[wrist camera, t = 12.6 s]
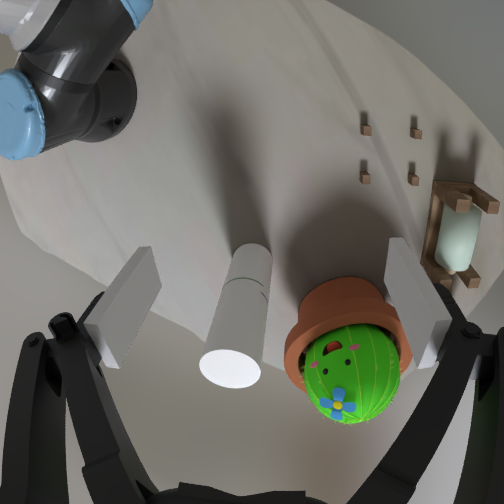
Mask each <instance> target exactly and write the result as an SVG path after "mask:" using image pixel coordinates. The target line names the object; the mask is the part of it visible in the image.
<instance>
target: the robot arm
mask: <svg viewBox="0 0 504 504" xmlns="http://www.w3.org/2000/svg"><path fill="white" fill-rule="evenodd" d="M152 5H153V0H0V33H1V34H7V35H8V36H9V38H10V40H11V43H12V46H13V48H14V50H17V51H21V52H22V53H21V55H20V57H19V59H18V61H17V63H16V65H15V67H14V69H6V70H5V71H3V72H1V73H0V155H1V156H3V157H4V158H7V159H9V160H21V159H24V158H27V157H34V156H36V155H38V154H39V153H42V152H44V151H47V150H49V149H51V148H54V147H56V146H59V145H62V144H64V143H67V142H69V141H72V140H79V141H84V142H92V143H93V142H100V141H104V140H107V139H109V138H112V137H114V136H115V135H117V134H118V133H120V132H121V131H122V130H123V129H124V128H125V127H126V125H127V124H128V123H129V121H130V119H131V117H132V115H133V113H134V110H135V106H136V100H137V89H136V83H135V80H134V77H133V75H132V73H131V72H130V70H129V69H128V68H127V67H126V66H125V65H124V64H123V63H122V62H120V61H118V60H116V59H113V58H114V56H115V55H116V54H117V52H118V51H119V49H120V48H121V47H122V45H123V44H124V43H125V41H126V40H127V39H128V37H129V36H130V35H131V34H132V32H133V31H134V30H135V31H136V30H137V29H138V27H139V24H140V22H141V21H142V20H143V18H144V17H145V16H146V14H147V13H148V12H149V11H150V9H151V7H152ZM384 283H385V285H386V287H387V290H388V292H389V294H390V297H391V299H392V302H393V304H394V307H395V309H396V312H397V314H398V317H399V319H400V322H401V324H402V327H403V330H404V332H405V335H406V338H407V340H408V343H409V346H410V349H411V352H412V354H413V357H414V360H415V363H416V366H417V369H421V368H427V367H433V365H434V363H435V361H436V358H437V359H438V361H439V366H438V368H437V370H436V372H435V374H434V376H433V377H432V379H431V381H430V383H429V385H428V387H427V389H426V391H425V392H424V394H423V396H422V398H421V400H420V401H419V403H418V405H417V406H416V408H415V410H414V412H413V413H412V415H411V417H410V418H409V420H408V422H407V423H406V425H405V426H404V428H403V430H402V431H401V432H400V434H399V436H398V437H397V439H396V440H395V442H394V443H393V444H392V446H391V448H390V449H389V450H388V452H387V453H386V455H385V456H384V457H383V459H382V460H381V461H380V463H379V464H378V465H377V467H376V468H375V469H374V471H373V472H372V473H371V474H370V476H369V477H368V478H367V479H366V481H365V482H364V483H363V485H362V486H361V487H360V488H359V489H358V491H357V492H356V493H355V494H354V495H353V497H352V498H351V499H350V500H349V501H348V502H347V504H407V503H408V501H409V500H410V498H411V497H412V495H413V493H414V491H415V489H416V485H417V482H418V481H419V479H420V478H421V476H422V474H423V473H424V471H425V469H426V468H427V466H428V464H429V463H430V461H431V459H432V457H433V455H434V454H435V452H436V450H437V448H438V446H439V444H440V442H441V441H442V438H443V437H444V435H445V433H446V431H447V428H448V426H449V424H450V422H451V420H452V418H453V416H454V414H455V411H456V409H457V407H458V405H459V402H460V400H461V398H462V395H463V393H464V390H465V388H466V385H467V382H468V379H473V380H476V381H475V393H474V394H475V395H474V404H473V413H472V421H471V427H470V433H469V439H468V445H467V451H466V455H465V460H464V466H463V470H462V474H461V478H460V482H459V486H458V489H457V493H456V497H455V500H454V503H453V504H504V327H502V328H501V329H500V330H499V331H498V333H497V335H492V334H484V333H482V330H481V329H480V328H479V327H478V326H477V325H476V324H474V323H471V322H467V320H466V318H465V317H464V315H463V313H462V312H461V310H460V308H459V307H458V305H457V303H456V302H455V300H454V298H452V295H451V293H450V292H449V290H448V289H447V288H446V287H445V286H443V285H442V284H441V283H433V284H432V283H431V281H430V279H429V278H428V276H427V274H426V273H425V271H424V269H423V268H422V266H421V265H420V263H419V262H418V260H417V258H416V257H415V255H414V254H413V252H412V251H411V249H410V248H409V246H408V245H407V243H406V242H405V240H404V239H403V237H400V238H390V240H389V248H388V255H387V262H386V269H385V275H384ZM161 287H162V285H161V281H160V278H159V274H158V271H157V267H156V263H155V260H154V256H153V252H152V249H151V246H148V247H139V248H138V249H137V250H136V252H135V253H134V254H133V256H132V257H131V258H130V259H129V261H128V262H127V263H126V265H125V266H124V267H123V269H122V270H121V271H120V273H119V274H118V275H117V277H116V278H115V279H114V281H113V282H112V283H111V285H110V286H109V287H108V289H107V290H106V292H101V293H100V294H99V295H97V296H96V297H95V298H94V300H93V301H92V302H91V304H90V305H89V306H88V308H87V309H86V310H85V312H84V313H83V314H82V316H81V317H80V319H79V320H78V322H77V323H76V322H75V320H74V318H73V316H72V314H70V313H68V312H64V313H60V314H58V315H56V316H55V317H54V318H52V319H51V320H50V322H49V325H48V327H49V329H50V331H51V333H52V335H53V336H54V338H53V339H47V340H46V338H45V337H44V335H43V334H42V333H41V332H35V333H32V334H30V335H29V336H27V338H26V339H25V340H24V342H23V345H22V349H21V353H20V357H19V361H18V365H17V369H16V373H15V378H14V382H13V387H12V393H11V398H10V404H9V410H8V416H7V422H6V431H5V439H4V449H3V462H2V483H1V487H0V504H69V495H68V484H67V471H66V451H65V450H66V447H65V413H66V398H67V402H68V407H69V411H70V415H71V418H72V422H73V426H74V429H75V433H76V436H77V439H78V443H79V446H80V449H81V452H82V455H83V458H84V461H85V466H84V467H82V473H83V477H84V480H85V482H86V485H87V488H88V491H89V493H90V496H91V498H92V501H93V503H94V504H327V503H325V502H323V501H321V500H318V499H315V498H312V497H306V496H305V491H271V492H266V493H260V494H255V495H248V496H236V495H233V494H229V493H226V492H223V491H220V490H218V489H214V488H212V487H209V486H202V485H195V484H189V483H182V482H179V487H178V488H174V489H168V490H165V491H161V492H159V490H158V489H157V488H156V486H155V485H154V484H153V483H152V481H151V480H150V478H149V476H148V474H147V473H146V471H145V469H144V467H143V465H142V463H141V462H140V459H139V457H138V455H137V453H136V451H135V449H134V447H133V445H132V443H131V441H130V438H129V436H128V434H127V432H126V430H125V428H124V425H123V423H122V420H121V418H120V416H119V413H118V411H117V409H116V406H115V404H114V401H113V399H112V396H111V394H110V391H109V389H108V386H107V383H106V381H105V378H104V375H103V372H102V369H101V367H100V366H99V362H100V360H101V359H103V361H104V363H105V365H106V366H107V367H112V368H120V367H121V365H122V363H123V361H124V359H125V357H126V355H127V353H128V350H129V349H130V347H131V345H132V343H133V341H134V339H135V337H136V335H137V333H138V331H139V329H140V327H141V325H142V323H143V321H144V319H145V317H146V316H147V314H148V312H149V310H150V308H151V306H152V304H153V302H154V300H155V298H156V297H157V295H158V293H159V291H160V289H161Z"/></svg>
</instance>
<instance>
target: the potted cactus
mask: <svg viewBox="0 0 504 504" xmlns="http://www.w3.org/2000/svg"><path fill="white" fill-rule="evenodd" d="M412 356H413V354H412V352H411V349H410V346H409V343H408V340H407V338H406V335H405V332H404V330H403V327H402V324H401V322H400V319H399V317H398V314H397V312H396V309H395V308H394V307H393V306H391V305H390V304H388V303H386V302H385V301H384V299H383V296H382V295H381V293H380V291H379V290H378V289H377V288H376V287H375V286H374V285H373V284H372V283H370V282H369V281H367V280H364V279H362V278H358V277H341V278H336V279H333V280H330V281H327V282H325V283H323V284H321V285H319V286H318V287H316V288H315V289H313V290H312V291H311V292H310V293H309V294H308V295H307V296H306V297H305V298H304V299H303V301H302V303H301V305H300V307H299V311H298V323H297V324H296V325H295V326H294V327H293V328H292V330H291V331H290V333H289V334H288V336H287V339H286V342H285V351H284V367H285V370H286V373H287V375H288V377H289V378H290V380H291V381H292V382H293V383H294V384H295V385H296V386H297V387H298V388H299V389H301V390H302V391H304V392H305V393H307V394H308V395H309V397H310V399H311V400H312V402H313V403H314V404H315V406H316V407H317V408H318V409H319V411H320V412H322V413H323V414H324V415H325V416H327V417H328V418H330V419H333V420H335V421H339V422H342V423H344V424H346V423H349V424H350V423H357V422H362V421H367V420H369V419H371V418H374V417H375V416H377V415H378V414H379V413H381V412H382V411H383V410H384V409H385V408H386V407H387V406H388V405H389V403H390V402H391V401H393V400H392V399H393V397H394V395H395V394H396V393H397V392H396V391H397V389H398V386H399V382H400V375H401V374H402V373H403V372H404V371H405V370H406V369H407V367H408V366H409V364H410V362H411V359H412ZM310 402H311V401H310ZM351 425H352V424H351Z"/></svg>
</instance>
